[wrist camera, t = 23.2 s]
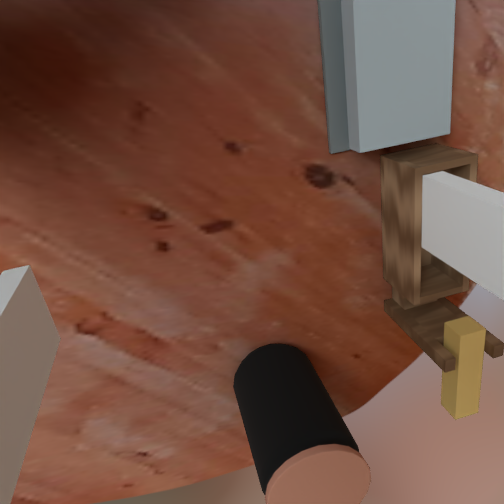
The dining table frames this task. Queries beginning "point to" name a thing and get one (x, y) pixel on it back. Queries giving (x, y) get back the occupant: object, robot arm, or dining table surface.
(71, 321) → the dining table surface
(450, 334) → the yellow block
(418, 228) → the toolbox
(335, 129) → the mat
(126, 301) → the dining table surface
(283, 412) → the coffee jar
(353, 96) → the lid
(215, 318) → the dining table surface
